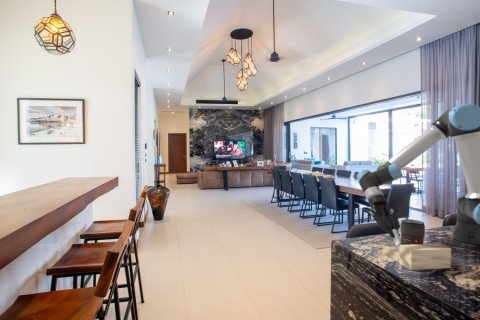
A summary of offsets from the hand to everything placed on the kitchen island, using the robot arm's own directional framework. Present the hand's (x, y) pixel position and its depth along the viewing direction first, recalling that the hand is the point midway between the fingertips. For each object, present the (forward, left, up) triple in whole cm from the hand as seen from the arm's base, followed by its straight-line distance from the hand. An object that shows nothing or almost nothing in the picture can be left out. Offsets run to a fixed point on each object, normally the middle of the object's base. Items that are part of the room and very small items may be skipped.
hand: (399, 244), depth 117 cm
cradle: (-1, +8, -4) cm, 8 cm away
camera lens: (-1, +6, -4) cm, 7 cm away
